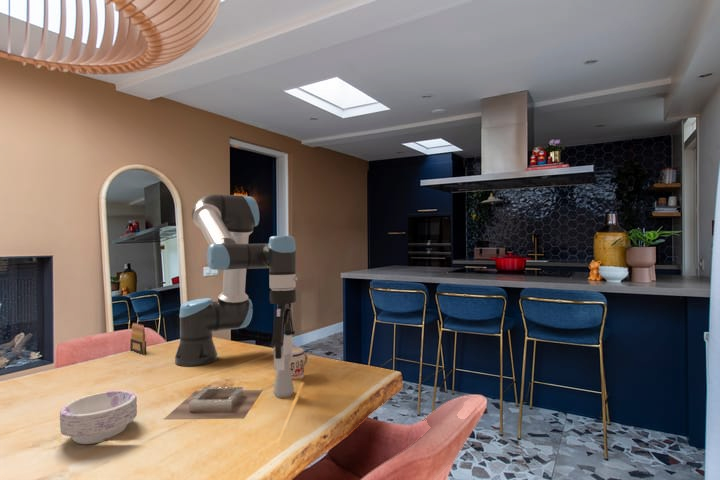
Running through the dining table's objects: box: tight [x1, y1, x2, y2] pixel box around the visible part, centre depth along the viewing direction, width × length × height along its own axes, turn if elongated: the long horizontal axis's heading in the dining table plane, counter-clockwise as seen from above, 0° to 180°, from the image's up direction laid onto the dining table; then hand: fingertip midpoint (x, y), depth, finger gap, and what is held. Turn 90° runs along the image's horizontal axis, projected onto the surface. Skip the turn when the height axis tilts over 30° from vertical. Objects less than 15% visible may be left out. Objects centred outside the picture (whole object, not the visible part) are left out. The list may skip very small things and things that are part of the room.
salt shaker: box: [272, 352, 295, 399], centre depth 118 cm, size 6×6×13 cm
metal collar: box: [189, 386, 244, 412], centre depth 112 cm, size 11×11×2 cm
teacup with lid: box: [289, 342, 309, 380], centre depth 137 cm, size 12×9×12 cm
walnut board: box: [163, 389, 263, 420], centre depth 112 cm, size 20×20×1 cm
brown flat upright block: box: [129, 322, 147, 355], centre depth 172 cm, size 11×2×12 cm, turn 52°
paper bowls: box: [59, 390, 138, 445], centre depth 96 cm, size 15×15×8 cm
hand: (283, 363), depth 118 cm, fingers open, 13 cm apart
